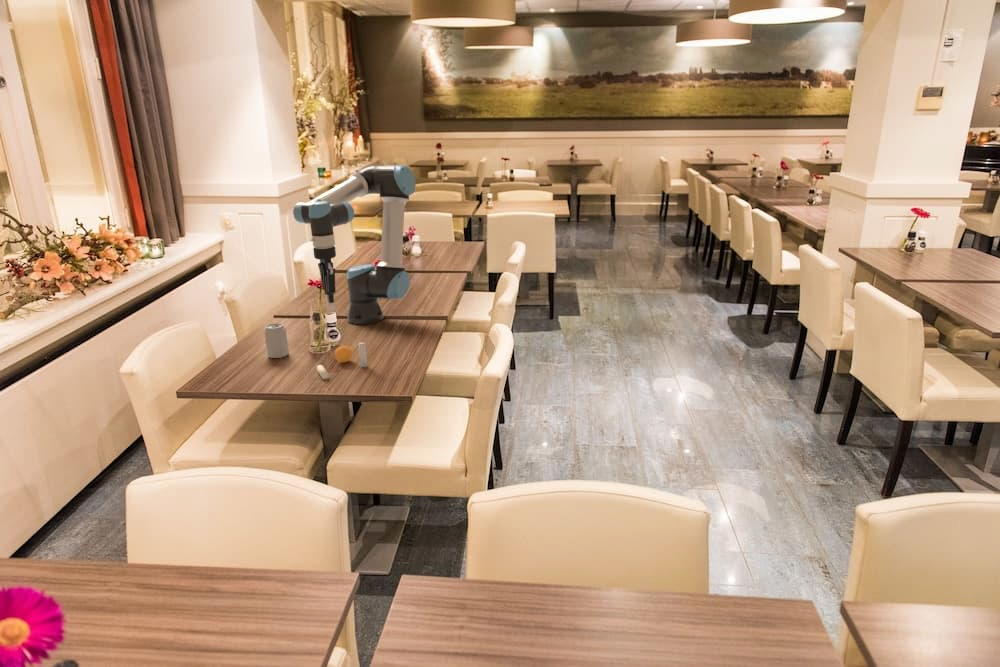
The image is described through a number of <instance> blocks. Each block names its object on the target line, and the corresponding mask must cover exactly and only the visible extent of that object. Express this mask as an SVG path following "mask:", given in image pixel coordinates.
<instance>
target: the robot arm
mask: <svg viewBox="0 0 1000 667" xmlns="http://www.w3.org/2000/svg"><path fill="white" fill-rule="evenodd" d="M415 190H416V178H415V175H414V173H413V171H412V169H411V168H410V167H409V166H407V165H402V164H401V165H400V164H373V165H370V166H369V165H368V166H367V167H363V168H362V169H360V170H358V171H356V172H354V173H352V174H350V175H349V177H348V178H347V180H345V181H343V182H342V183H340V184H338V185H336V186H334V187H333V188H331V189H330V190H327V191H326V192H324V193H322V194H320V195H318V196H316V197H315V198H313V199H311V200H309V201H306V202H305V201H302V202H297V203H296V204H295V205H294V206H293V210H292V214H293V218H294V220H295V221H296V222H298V223H300V224H301V223H302V224H309V225H310V230H311V231H310V232H311V238H310V242H312V246H313V248H312V250H313V258H314V259H315V260H319V263H317V267H318V269H319V275H320V280H321V286H322V290H323V291H324V295H325V301H326V302H325V304H326V310H327V312H328V313H329V312H335V311H336V310H337V309H336V302H335V294H336V291H337V290H336V268H334V263H333V262H332V260H333V259H334V258H335V257H336V256H337V254H336V253H337V250H336V247H335V244H336V243H335V242H336V241H335V233H334V227H338V226H339V227H340V226H343V225H346V224H348V223H351V222H352V221H353V220H354V218H355V210H354V207H353V206H352V204H350V203H349V202H351V201H353V200H355V199H356V198H358V197H359V198H362V197H365V196H366V195H371V194H372V195H373V194H378V195H379V198H380V200H381V201H382V202H383V203H382V204H383V205H382V224H381V225H382V227H381V243H380V259H379V262H378V263H376V265H375V264H371V263H370V264H369V263H368V264H361V265H356V266H353V267H350V268H349V269H347V272H346V276H347V278H346V280H347V287H348V288H347V289H348V297H349V298H348V299H349V305H348V306H349V307H348V311H347V317H346V318H347V322H348V323H349V322H350V323H349V324H352V323H353V324H354V325H370V323H371V324H375V323H378V322H381V321H382V320H384V311H383V309H382V307H381V304H380V302H379V301H378V298H379V299H386V300H387V299H388V300H401V299H402V298H404V297H405V296H406V295H407V294H408V291H409V289H410V286H411V278H410V275H409V273H408V272H406V269H405V268H406V266H405V265H404V264H403V262H402V260H403V246H404V245H403V243H404V225H405V207H406V206H405V205H406V203H407V202H408V201H409V199H410V196H411V195H413V194H414V192H415ZM375 266H376V267H375ZM353 324H352V325H353Z"/></svg>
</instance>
